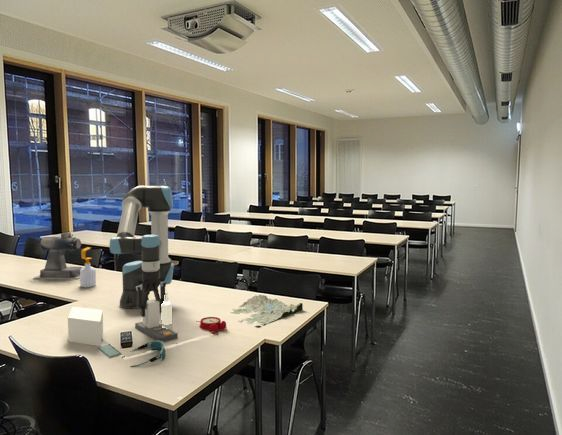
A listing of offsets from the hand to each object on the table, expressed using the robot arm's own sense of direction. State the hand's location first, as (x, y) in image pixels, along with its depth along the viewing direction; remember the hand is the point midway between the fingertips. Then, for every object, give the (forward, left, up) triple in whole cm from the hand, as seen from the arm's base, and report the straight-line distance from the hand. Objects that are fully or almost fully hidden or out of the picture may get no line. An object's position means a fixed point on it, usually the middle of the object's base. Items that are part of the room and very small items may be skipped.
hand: (151, 321), depth 185 cm
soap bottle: (-105, +7, -5) cm, 105 cm away
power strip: (+1, 0, -5) cm, 5 cm away
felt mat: (+9, -18, -5) cm, 21 cm away
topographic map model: (+9, +55, -6) cm, 56 cm away
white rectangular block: (-13, -23, -5) cm, 27 cm away
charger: (0, 0, -4) cm, 4 cm away
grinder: (-144, +2, -5) cm, 144 cm away
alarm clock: (+14, +23, -5) cm, 27 cm away
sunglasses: (+24, -14, -5) cm, 28 cm away
